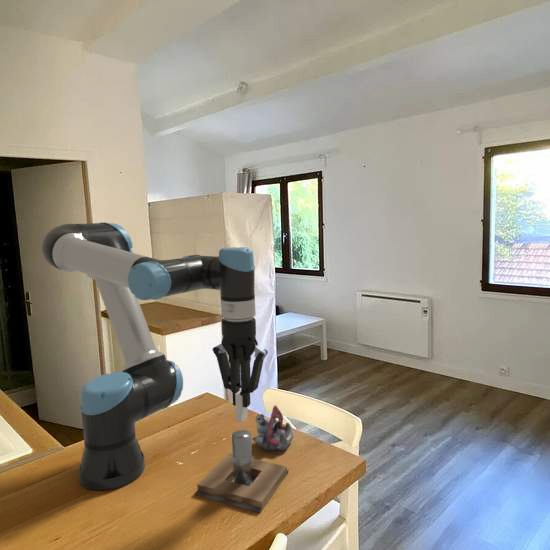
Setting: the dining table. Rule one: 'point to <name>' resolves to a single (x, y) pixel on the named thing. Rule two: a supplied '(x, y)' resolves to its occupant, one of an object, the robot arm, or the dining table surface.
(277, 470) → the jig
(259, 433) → the red and grey figurine
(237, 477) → the steel cylinder rod
